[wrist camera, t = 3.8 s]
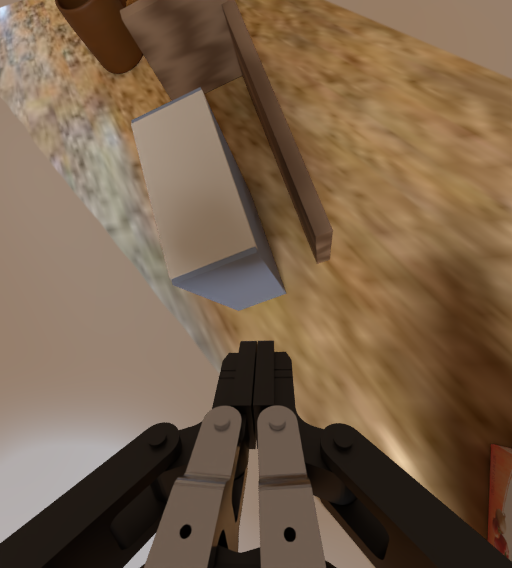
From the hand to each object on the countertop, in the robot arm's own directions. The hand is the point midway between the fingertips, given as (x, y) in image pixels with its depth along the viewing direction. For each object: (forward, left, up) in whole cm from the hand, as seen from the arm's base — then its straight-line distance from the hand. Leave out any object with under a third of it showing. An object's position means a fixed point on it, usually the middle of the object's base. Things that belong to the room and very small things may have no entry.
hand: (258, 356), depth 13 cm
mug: (+9, -53, -20) cm, 58 cm away
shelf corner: (-1, -24, -20) cm, 31 cm away
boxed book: (+2, -13, -20) cm, 24 cm away
